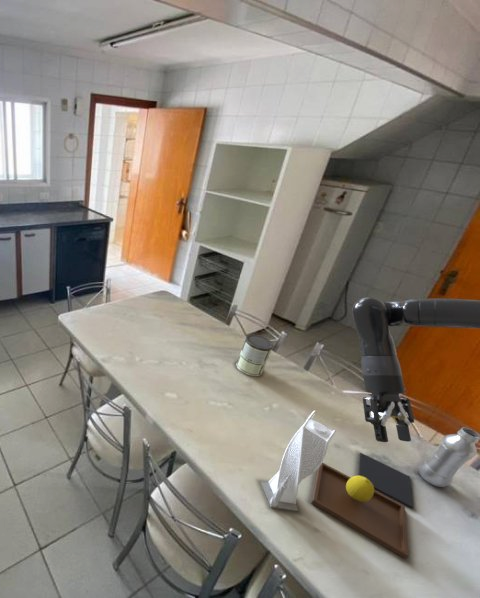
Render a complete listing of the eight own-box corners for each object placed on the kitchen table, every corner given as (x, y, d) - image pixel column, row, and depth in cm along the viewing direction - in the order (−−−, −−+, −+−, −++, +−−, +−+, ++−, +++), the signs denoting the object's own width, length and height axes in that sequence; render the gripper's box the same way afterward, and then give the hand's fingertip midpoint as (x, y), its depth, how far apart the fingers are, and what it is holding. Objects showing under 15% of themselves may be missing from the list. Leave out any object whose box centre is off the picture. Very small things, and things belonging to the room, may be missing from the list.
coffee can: (233, 359, 145) (243, 332, 138) (257, 363, 143) (268, 336, 137) (239, 374, 136) (249, 346, 129) (265, 378, 134) (277, 350, 128)
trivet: (408, 477, 98) (409, 476, 98) (411, 508, 89) (413, 507, 89) (359, 453, 104) (360, 452, 104) (358, 480, 96) (359, 478, 96)
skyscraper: (258, 477, 94) (295, 406, 81) (287, 481, 94) (329, 411, 81) (270, 507, 87) (313, 434, 74) (302, 512, 86) (350, 439, 73)
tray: (401, 509, 89) (404, 505, 88) (405, 559, 78) (408, 556, 77) (318, 464, 100) (320, 461, 99) (311, 503, 89) (313, 499, 88)
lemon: (343, 484, 94) (356, 466, 90) (367, 498, 91) (381, 480, 87) (338, 496, 91) (352, 478, 87) (363, 512, 87) (377, 493, 84)
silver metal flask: (439, 493, 94) (483, 446, 85) (410, 473, 99) (449, 426, 90) (449, 485, 96) (494, 439, 87) (421, 466, 102) (460, 420, 93)
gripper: (380, 373, 79) (393, 445, 75) (417, 375, 83) (431, 443, 80) (346, 373, 86) (357, 439, 82) (383, 375, 90) (394, 438, 87)
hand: (393, 441), depth 81 cm, fingers open, 8 cm apart
